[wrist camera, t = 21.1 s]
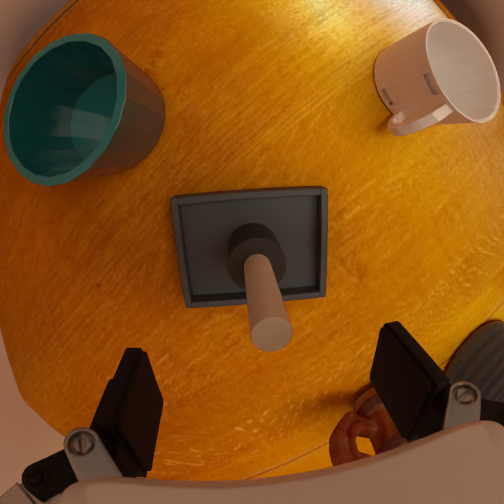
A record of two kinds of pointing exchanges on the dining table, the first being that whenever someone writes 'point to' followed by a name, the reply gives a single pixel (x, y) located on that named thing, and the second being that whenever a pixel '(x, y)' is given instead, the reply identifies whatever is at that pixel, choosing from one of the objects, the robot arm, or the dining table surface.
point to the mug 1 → (364, 430)
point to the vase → (481, 361)
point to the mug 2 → (437, 78)
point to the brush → (261, 284)
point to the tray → (240, 213)
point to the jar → (81, 112)
